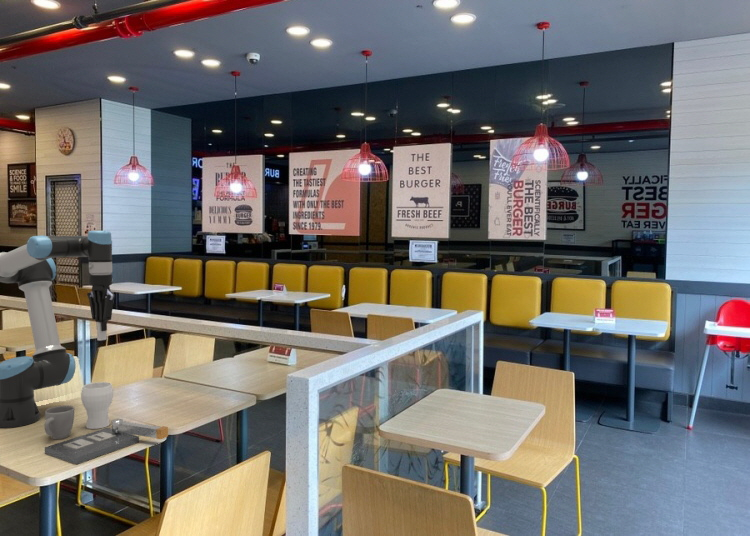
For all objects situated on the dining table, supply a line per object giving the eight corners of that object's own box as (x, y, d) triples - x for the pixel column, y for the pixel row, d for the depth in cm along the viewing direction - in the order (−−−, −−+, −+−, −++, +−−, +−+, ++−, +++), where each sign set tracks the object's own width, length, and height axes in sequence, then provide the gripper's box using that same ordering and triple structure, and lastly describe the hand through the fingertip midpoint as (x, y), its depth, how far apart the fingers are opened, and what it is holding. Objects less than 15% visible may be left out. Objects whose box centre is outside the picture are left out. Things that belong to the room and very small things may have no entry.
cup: (101, 431, 201) (100, 390, 200) (75, 429, 203) (74, 388, 203) (120, 422, 212) (119, 382, 211) (95, 420, 214) (94, 380, 213)
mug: (56, 431, 201) (55, 405, 200) (80, 432, 200) (79, 405, 200) (33, 444, 189) (32, 415, 188) (58, 445, 188) (58, 416, 188)
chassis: (44, 453, 181) (44, 446, 181) (107, 433, 200) (107, 426, 200) (76, 464, 172) (76, 456, 172) (138, 442, 191) (138, 435, 191)
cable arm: (109, 431, 194) (109, 421, 194) (117, 428, 198) (117, 418, 197) (160, 439, 187) (160, 429, 187) (168, 436, 190) (168, 425, 190)
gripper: (79, 273, 201) (81, 339, 202) (102, 275, 194) (103, 343, 196) (99, 272, 208) (100, 336, 209) (121, 274, 201) (122, 340, 202)
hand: (102, 339), depth 202 cm, fingers closed
